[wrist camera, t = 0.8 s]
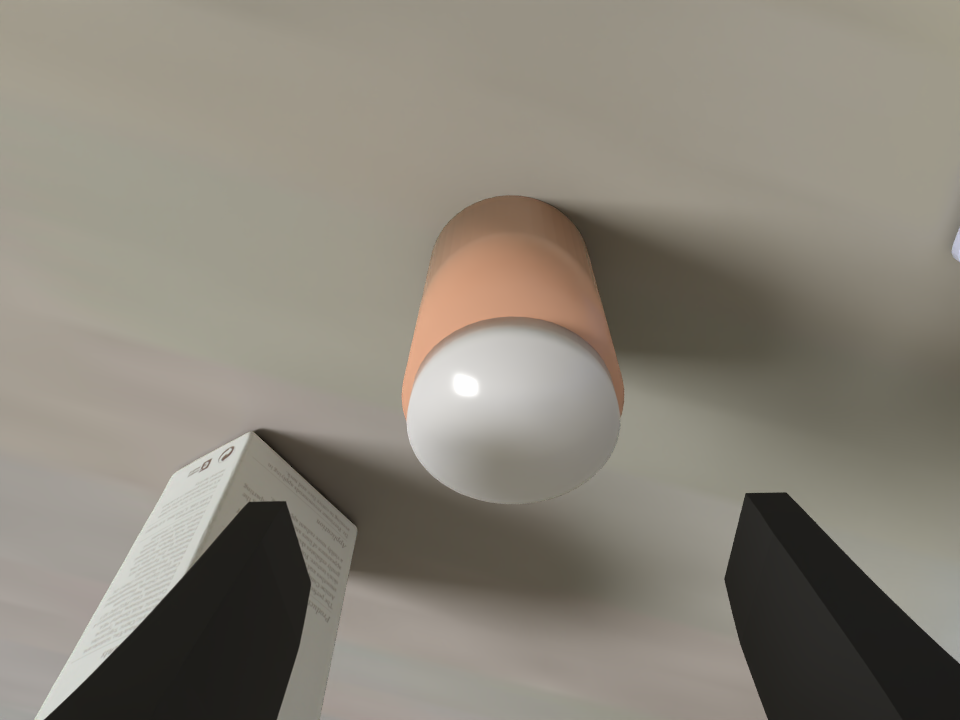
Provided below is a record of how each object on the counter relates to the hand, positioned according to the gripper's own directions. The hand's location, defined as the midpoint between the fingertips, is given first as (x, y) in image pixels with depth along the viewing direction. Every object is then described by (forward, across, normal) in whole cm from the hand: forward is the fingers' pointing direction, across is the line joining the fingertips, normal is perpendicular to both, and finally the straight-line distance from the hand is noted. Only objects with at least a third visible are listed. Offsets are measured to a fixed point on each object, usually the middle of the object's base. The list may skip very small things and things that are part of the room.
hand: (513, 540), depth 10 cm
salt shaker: (+10, 0, 0) cm, 10 cm away
